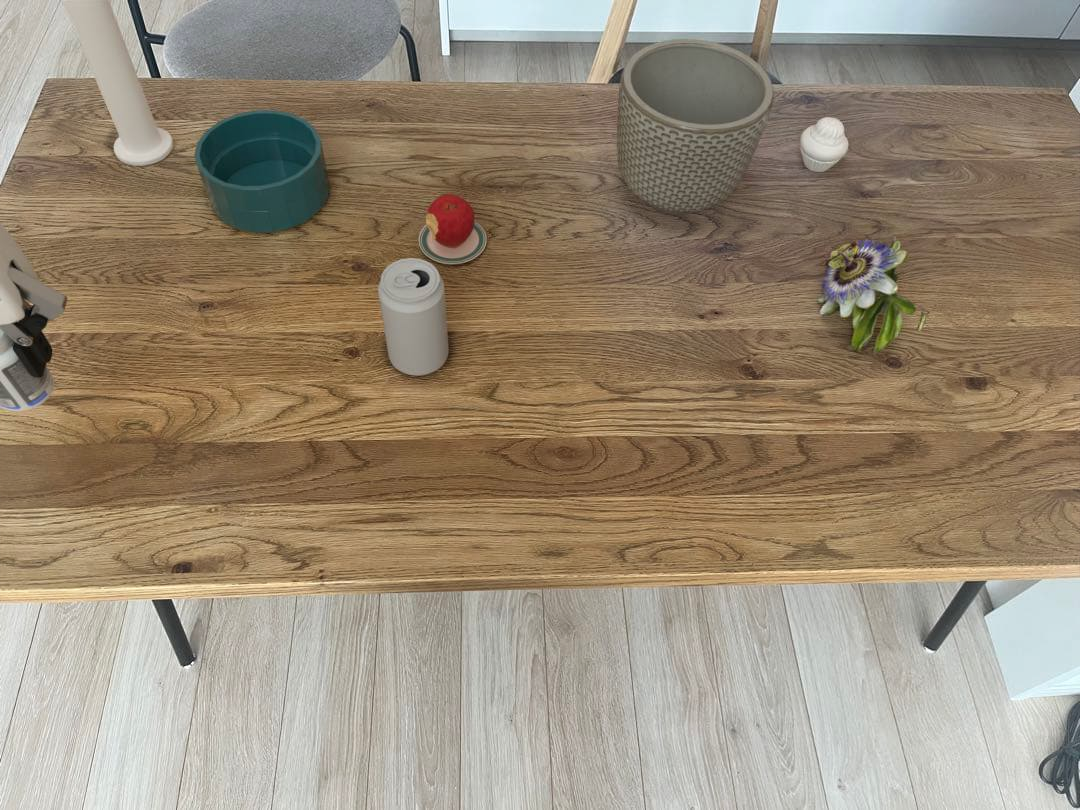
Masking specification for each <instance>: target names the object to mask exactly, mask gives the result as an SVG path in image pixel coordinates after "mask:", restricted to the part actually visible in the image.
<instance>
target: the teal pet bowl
mask: <svg viewBox="0 0 1080 810" xmlns="http://www.w3.org/2000/svg"><path fill="white" fill-rule="evenodd" d="M193 155H194V160H195V163H196V167H197V170H198V173H199V176H200V178H201V182H202V185H203V188H204V190H205V194H206V196H207V199H208V202H209V205H210V208H211V210H212V212H213V213H214V214H215V215H216V216H217V218H218V219H219V220H220V221H221V222H223V223H224V224H226V225H228V226H230V227H232V228H234V229H235V230H236V229H237V230H240V231H241V230H242V231H245V232H251V233H275V232H279V231H284V230H287V229H292V228H295V227H297V226H299V225H301V224H303V223H305V222H307V221H309V220H310V219H312V218H313V217H314V216H315V215H316V214H317V213H319V212H320V211H321V210H322V209H323V208H324V205H325V204H326V202H327V200H328V198H329V196H330V180H329V175H328V174H329V173H328V169H327V163H326V158H325V154H324V147H323V143H322V139H321V136H320V135H319V132H318V130H317V129H316V128H315V126H313V125H312V124H311V123H310V122H309V121H308V120H307V119H305V118H302V117H300V116H298V115H296V114H294V113H291V112H287V111H280V110H276V109H256V110H249V111H245V112H240V113H236V114H233V115H231V116H229V117H226V118H223V119H221V120H219V121H217V122H216V123H215V124H213V125H212V126H211V127H209V128H208V129H207V130H205V131H204V133H202V135H201V137H200V138H199V139H198V141H197V142H196V146H195V150H194V154H193Z"/></svg>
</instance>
